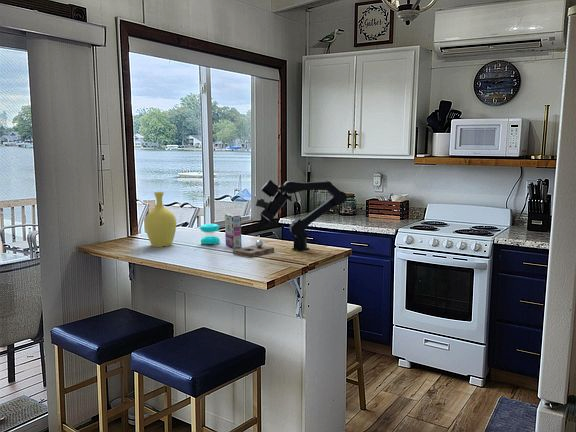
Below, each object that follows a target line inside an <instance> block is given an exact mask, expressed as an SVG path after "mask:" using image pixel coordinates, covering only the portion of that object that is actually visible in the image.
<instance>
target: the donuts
mask: <svg viewBox="0 0 576 432" xmlns="http://www.w3.org/2000/svg"><path fill="white" fill-rule="evenodd" d="M199 229H200V231H201V232H203V233H215V232H218V230H220V226H219V224H217V223H205V224H204V223H203V224H202V225H201V226H200V227H199ZM220 242H221V240H220V238H219V237H218V236H215V235H207V236H204V237H202V238H201V239H200V243H201V244H202V245H204V244H214V245H217V243H218V244H219V243H220Z"/></svg>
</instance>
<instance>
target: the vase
mask: <svg viewBox="0 0 576 432" xmlns="http://www.w3.org/2000/svg"><path fill="white" fill-rule="evenodd" d="M153 193H154V197H155V198H156V199H155V200H156V205H155V207H154V208H153V209H152V210H150V211H149V212H148V213H147V214H146V215H145V220H144V229H145V231H146V235H147V237H148V239H149V240H148V241H149V243H150V245H151V246H152V247H153V246H154V247H155V248H163V246H166V247H170V246H172V245H173V242H174V239H175V235H176V230H177V219H176V216H175V214H174V213H173V212H172V211H171V210H169V209H168V208H167V207H165V205H164V204H163V196H164V191H156V192H153ZM169 245H170V246H169ZM154 247H153V248H154Z"/></svg>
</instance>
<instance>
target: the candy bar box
mask: <svg viewBox="0 0 576 432" xmlns="http://www.w3.org/2000/svg"><path fill="white" fill-rule="evenodd" d="M241 220H242V215H238V214H235V213H225V214H224V229H225V230H224V231H225V233H224V234H225V236H224V237H225V238H224V239H225V246H227V247H229V248H232V249H240V248H243V247H242V221H241Z"/></svg>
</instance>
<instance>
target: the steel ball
mask: <svg viewBox="0 0 576 432" xmlns="http://www.w3.org/2000/svg"><path fill="white" fill-rule="evenodd" d="M255 245H256V246H257V247H262V246H264V243H263V241H262V240H259V239H258V240H257V241H255Z"/></svg>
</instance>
